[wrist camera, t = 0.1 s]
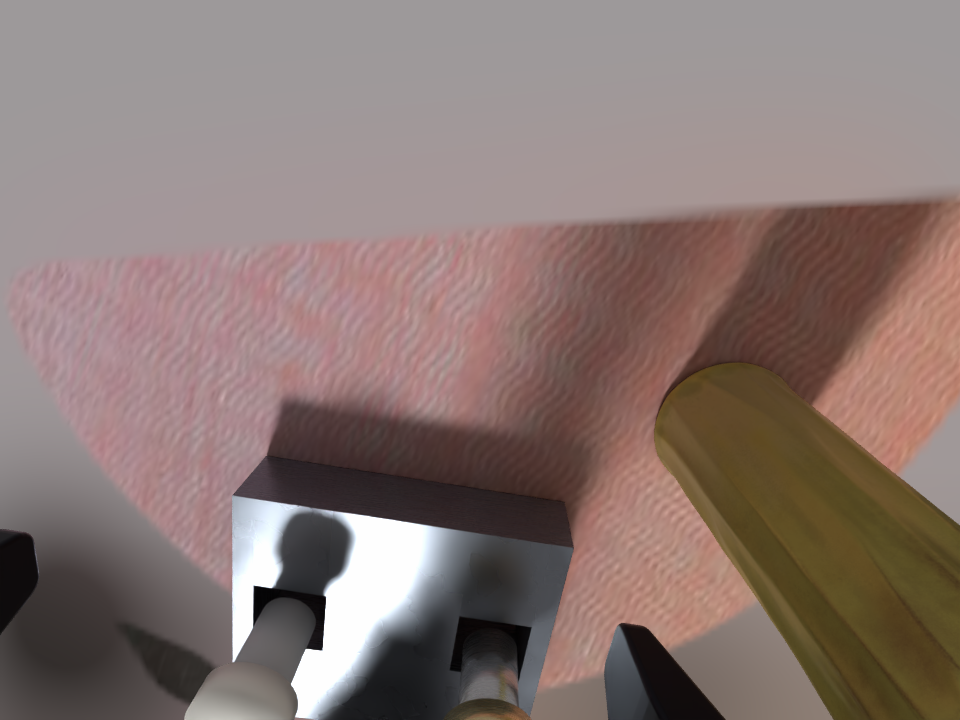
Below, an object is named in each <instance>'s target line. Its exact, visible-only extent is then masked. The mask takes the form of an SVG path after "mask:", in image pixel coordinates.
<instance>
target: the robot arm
mask: <svg viewBox="0 0 960 720" xmlns="http://www.w3.org/2000/svg"><path fill="white" fill-rule="evenodd" d="M38 581H39V569H38V563H37V556H36V550H35V543H34V539H33V537H32V536H31V535H30V534H28V533H26V532H20V531H14V530H7V529H0V635H1V633H2V632H3V631H4V629H5V628H6V627H7V625H8V624H9V623H10V622H11V621H12V619H13V618H14V617H15V615H16V614H17V613H18V611H19V610H20V609H21V608H22V607H23V605H24V604H25V603H26V601H27V600H28V599H29V598H30V596H31V595H32V593H33V592H34V590H35V588H36V587H37V584H38ZM604 677H605V688H606V699H607V710H608V720H725V718H724V717H723V716H722V715H721V714H720V713H719V712H718V710H717V709H716V708H715V707H714V705H713V704H712V703H711V702H710V701H709V700H708V698H707V697H706V696H705V695H704V694H703V693H702V691H701V690H700V689H699V688H698V687H697V685H696V684H695V683H694V682H693V681H692V680H691V678H690V677H689V676H688V675H687V674H686V673H685V672H684V670H683V669H682V668H681V667H680V666H679V664H678V663H677V662H676V661H675V660H674V658H673V657H672V656H671V655H670V654H669V653H668V651H667V650H666V649H665V648H664V647H663V646H662V644H661V643H660V642H659V641H658V640H657V639H656V637H655V636H654V635H653V634H652V633H651V631H650V630H649V629H647V628H646V627H644V626H641V625H634V624H628V623H621V624H619V625H618V626H617V628H616V630H615V633H614V637H613V640H612V643H611V646H610V649H609V653H608V656H607V659H606V663H605V672H604Z"/></svg>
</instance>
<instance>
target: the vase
mask: <svg viewBox="0 0 960 720" xmlns="http://www.w3.org/2000/svg"><path fill="white" fill-rule="evenodd" d="M654 441H655V447H656V451H657V454H658V457H659V459H660V460H661V462H662V464H663V465H664V466H665V467H666V469H667V470H668V471H669V472H670V473H671V474H672V475H673V476H674V477H675V478H676V480H677V481H678V483H679V484H680V486H681V488H682V489H683V491H684V492H685V494H686V496H687V497H688V499H689V500H690V502H691V503H692V505H693V506H694V507H695V509H696V510H697V512H698V513H699V514H700V516H701V517H702V519H703V520H704V522H705V523H706V525H707V526H708V528H709V529H710V531H711V532H712V534H713V535H714V537H715V539H716V540H717V542H718V543H719V545H720V546H721V548H722V549H723V551H724V552H725V554H726V555H727V557H728V558H729V559H730V561H731V562H732V563H733V565H734V566H735V568H736V569H737V570H738V572H739V573H740V575H741V576H742V577H743V579H744V580H745V582H746V583H747V585H748V586H749V588H750V589H751V591H752V592H753V593H754V595H755V596H756V598H757V599H758V601H759V602H760V604H761V605H762V607H763V609H764V610H765V612H766V613H767V615H768V616H769V617H770V619H771V621H772V622H773V623H774V625H775V626H776V628H777V629H778V631H779V632H780V634H781V635H782V636H783V638H784V639H785V641H786V642H787V644H788V646H789V647H790V649H791V650H792V652H793V653H794V655H795V657H796V658H797V660H798V661H799V663H800V665H801V666H802V668H803V670H804V671H805V673H806V675H807V676H808V678H809V680H810V681H811V683H812V685H813V686H814V688H815V690H816V691H817V693H818V695H819V696H820V698H821V700H822V701H823V703H824V705H825V706H826V708H827V710H828V711H829V713H830V715H831V716H832V718H833V719H834V720H960V525H959V524H957V523H956V522H955V521H954V520H952V519H951V518H950V517H948V516H947V515H946V514H945V513H943V512H942V511H941V510H940V509H938V508H937V507H936V506H935V505H934V504H932V503H931V502H930V501H929V500H927V499H926V498H925V497H924V496H922V495H921V494H920V493H919V492H917V491H916V490H915V489H914V488H913V487H911V486H910V485H909V484H908V483H906V482H905V481H904V480H902V479H901V478H900V477H899V476H897V475H896V474H895V473H893V472H892V471H891V470H890V469H888V468H887V467H886V466H884V465H883V464H882V463H881V462H880V461H878V460H877V459H876V458H875V457H874V456H872V455H871V454H870V453H869V452H868V451H867V450H865V449H864V448H863V447H862V446H861V445H859V444H858V443H857V442H856V441H855V440H853V439H852V438H851V437H850V436H848V435H847V434H846V433H845V432H844V431H842V430H841V429H840V428H839V427H837V426H836V425H835V424H834V423H832V422H831V421H830V420H829V419H827V418H826V417H825V416H824V415H822V414H821V413H820V412H819V411H817V410H816V409H815V408H814V407H812V406H811V405H810V404H809V403H807V402H806V401H805V400H804V399H802V398H801V397H800V396H799V395H797V394H796V393H795V392H794V391H792V390H791V389H790V387H789V386H788V385H787V383H786V382H785V381H784V380H783V379H782V378H781V377H780V376H778V375H777V374H775V373H773V372H772V371H770V370H768V369H766V368H763V367H760V366H757V365H753V364H748V363H725V364H719V365H715V366H711V367H708V368H705V369H703V370H700V371H698V372H696V373H694V374H693V375H691V376H689V377H688V378H686V379H685V380H684V381H682V382H681V383H680V384H679V385H678V386H677V387H675V388H674V389H673V390H672V392H671V393H670V394H669V395H668V396H667V398H666V399H665V401H664V403H663V405H662V407H661V409H660V411H659V414H658V416H657V420H656V424H655V429H654Z"/></svg>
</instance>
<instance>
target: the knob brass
mask: <svg viewBox="0 0 960 720" xmlns="http://www.w3.org/2000/svg"><path fill="white" fill-rule="evenodd" d="M443 720H531V718H530V717H529V716H528V714H527V713H525V712H524V711H523V710H522V709H521V708H519V697H518V670H517V647H516V643H515V641H514V640H513V638H512V637H511V636H510V635H508V634H507V633H505V632H503V631H501V630H498V629H491V628H486V629H480V630H477V631H475V632H473V633H471V634H470V635H469V636H468V637H467V638H466V640H465V641H464V644H463V653H462V665H461V678H460V691H459V703H458V705H457V706H456V707H454V708H453V709H451V710H450V711H449V712H448V713H447V714H446V716H445V717H444V719H443Z"/></svg>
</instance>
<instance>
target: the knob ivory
mask: <svg viewBox="0 0 960 720" xmlns="http://www.w3.org/2000/svg"><path fill="white" fill-rule="evenodd" d="M315 626H316V619H315V615H314V613H313V612H312V610H311V609H310V608H309V607H308V606H307V605H306V604H304V603H303V602H301V601H299V600H296V599H293V598H277V599H274V600H272V601H270V602H269V603H267V604H266V606H265V607H264V609H263V610H262V612H261V614H260V616H259V618H258V619H257V621H256V623H255V625H254V627H253V628H252V630H251V632H250V634H249V636H248V637H247V639H246V641H245V643H244V645H243V646H242V648H241V650H240V652H239V654H238V655H237V657H236V659H235V661H234V662H233V663H228V664H225V665H222V666H220V667H218V668H216V669H214V670H213V671H212V672H211V673H210V674H209V675H208V676H207V678H206V679H205V681H204V683H203V684H202V686H201V688H200V689H199V691H198V693H197V694H196V696H195V698H194V699H193V701H192V703H191V704H190V706H189V708H188V709H187V712H186V714H185V718H184V720H294V719H295V716H296V713H297V710H298V697H297V694H296V692H295V690H294V688H293V687H292V685H291V684H292V681H293V679H294V677H295V674H296V672H297V669H298V667H299V665H300V662H301V660H302V657H303V655H304V653H305V650H306V648H307V645H308V643H309V641H310V638H311V636H312V633H313V631H314V629H315Z"/></svg>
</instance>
